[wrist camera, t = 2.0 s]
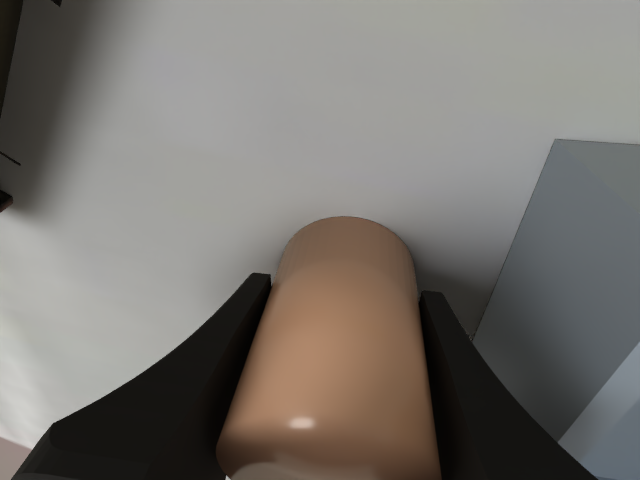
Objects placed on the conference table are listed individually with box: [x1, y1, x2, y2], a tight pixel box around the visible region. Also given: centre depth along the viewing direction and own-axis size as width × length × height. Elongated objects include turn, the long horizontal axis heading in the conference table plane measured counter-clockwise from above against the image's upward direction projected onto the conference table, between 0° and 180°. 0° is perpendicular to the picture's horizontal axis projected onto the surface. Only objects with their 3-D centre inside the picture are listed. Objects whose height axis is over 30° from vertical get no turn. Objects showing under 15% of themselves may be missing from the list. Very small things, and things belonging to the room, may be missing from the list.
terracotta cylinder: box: [216, 217, 442, 480], centre depth 11 cm, size 5×5×7 cm
